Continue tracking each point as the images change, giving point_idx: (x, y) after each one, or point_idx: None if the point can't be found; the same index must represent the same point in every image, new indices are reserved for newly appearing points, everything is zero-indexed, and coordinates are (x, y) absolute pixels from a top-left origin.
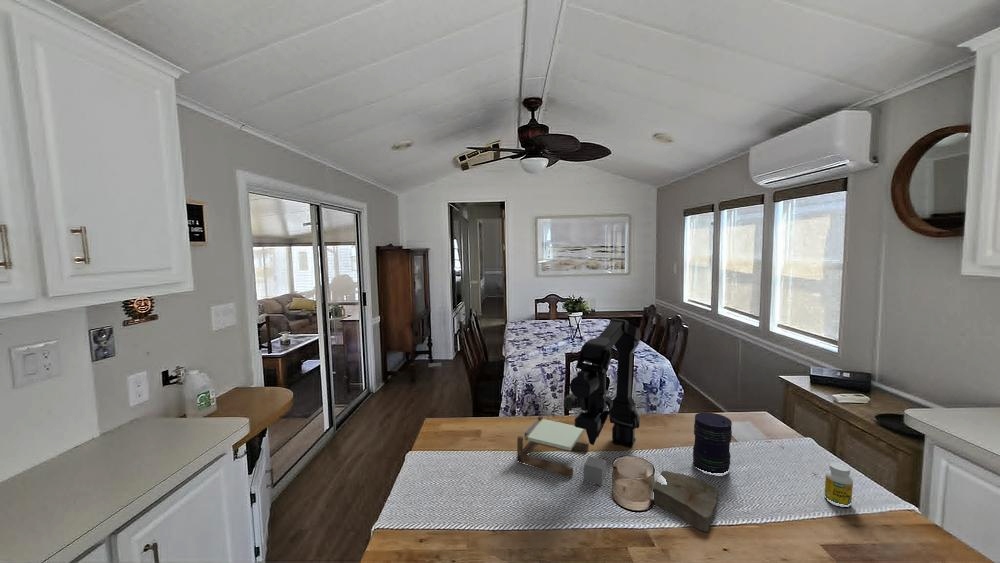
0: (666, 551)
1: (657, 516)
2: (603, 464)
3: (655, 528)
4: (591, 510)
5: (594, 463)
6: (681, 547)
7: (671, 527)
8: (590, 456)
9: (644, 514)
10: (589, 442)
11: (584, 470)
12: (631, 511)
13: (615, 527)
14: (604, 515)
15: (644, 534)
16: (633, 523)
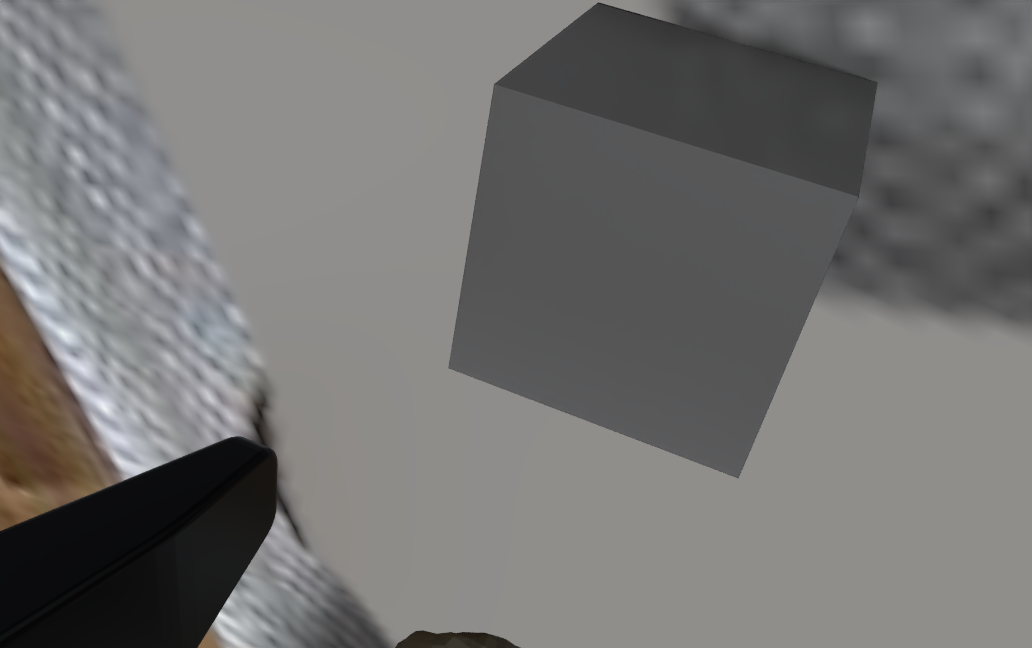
0: (6, 528)
1: (277, 593)
2: (593, 410)
3: None
4: (91, 98)
5: (583, 274)
6: None
7: (210, 628)
8: (844, 223)
9: None
10: (190, 455)
11: (533, 56)
12: None
13: (15, 285)
14: (92, 217)
15: (63, 459)
16: (124, 420)
